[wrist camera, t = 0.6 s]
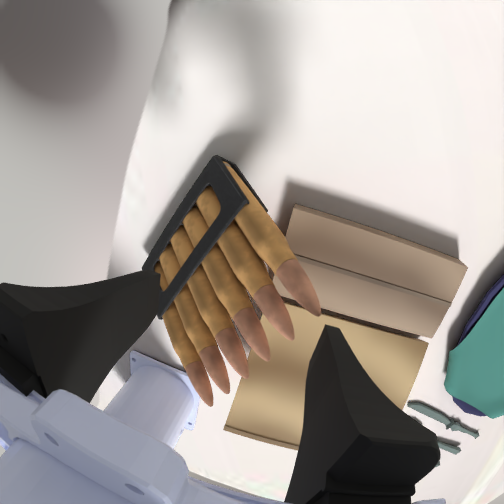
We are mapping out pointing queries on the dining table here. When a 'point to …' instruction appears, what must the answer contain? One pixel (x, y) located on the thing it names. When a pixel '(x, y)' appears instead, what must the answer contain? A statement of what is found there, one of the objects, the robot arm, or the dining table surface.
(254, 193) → the ammunition clip
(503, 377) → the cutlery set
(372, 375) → the plank
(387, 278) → the floor row
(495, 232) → the dining table surface
